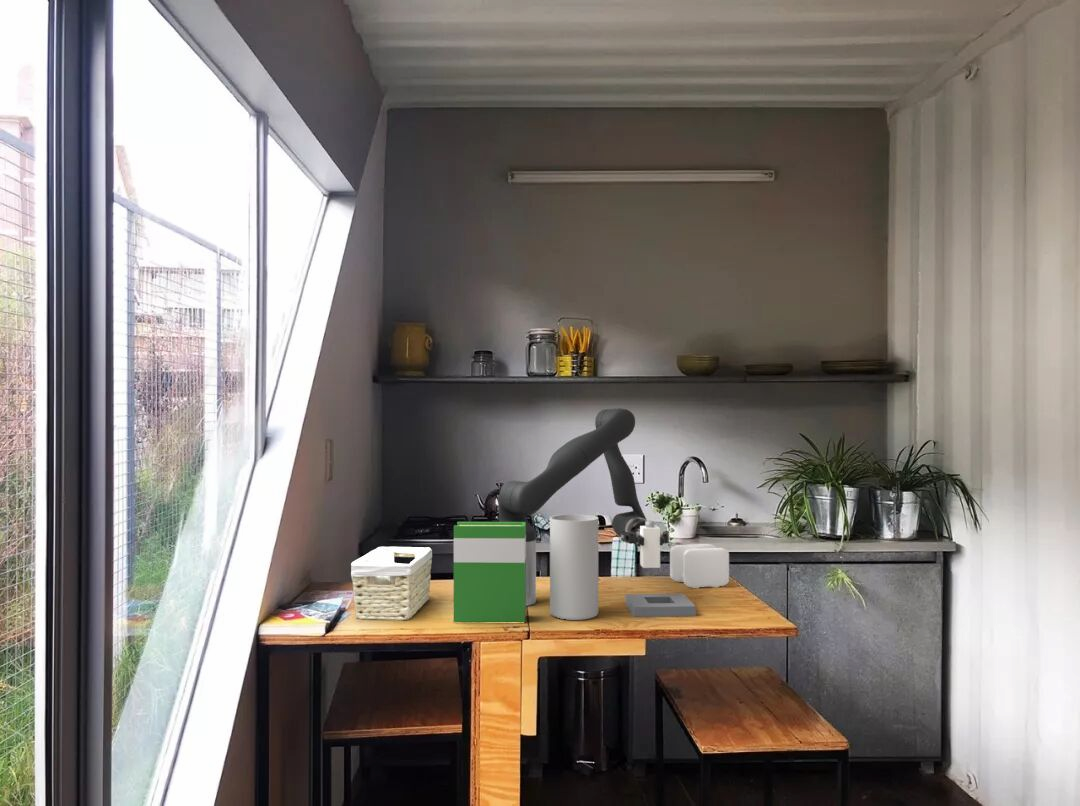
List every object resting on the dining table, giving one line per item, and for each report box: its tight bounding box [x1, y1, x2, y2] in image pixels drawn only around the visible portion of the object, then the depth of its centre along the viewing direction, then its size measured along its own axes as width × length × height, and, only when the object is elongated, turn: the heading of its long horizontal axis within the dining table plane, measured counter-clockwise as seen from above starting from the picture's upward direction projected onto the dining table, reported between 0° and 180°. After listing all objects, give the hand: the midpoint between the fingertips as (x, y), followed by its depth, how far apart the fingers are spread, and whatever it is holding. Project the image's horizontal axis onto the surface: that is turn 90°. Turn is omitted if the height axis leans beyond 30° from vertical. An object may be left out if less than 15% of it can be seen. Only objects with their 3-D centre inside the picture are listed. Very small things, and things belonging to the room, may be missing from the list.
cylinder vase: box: [549, 514, 599, 621], centre depth 197 cm, size 12×12×25 cm
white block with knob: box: [639, 520, 661, 569], centre depth 205 cm, size 4×4×12 cm
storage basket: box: [350, 546, 433, 621], centre depth 202 cm, size 24×16×15 cm
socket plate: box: [624, 593, 697, 618], centre depth 202 cm, size 16×14×2 cm
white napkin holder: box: [669, 543, 730, 589], centre depth 232 cm, size 15×11×12 cm
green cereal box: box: [453, 521, 527, 623], centre depth 193 cm, size 18×7×24 cm, turn 88°
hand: (652, 541), depth 202 cm, fingers closed on white block with knob, 4 cm apart
